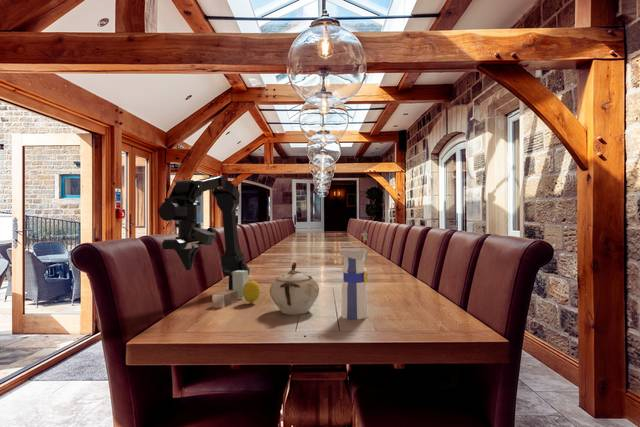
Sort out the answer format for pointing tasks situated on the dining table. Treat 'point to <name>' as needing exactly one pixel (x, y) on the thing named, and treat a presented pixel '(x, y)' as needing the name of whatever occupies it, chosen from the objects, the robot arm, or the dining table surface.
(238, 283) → the sage block
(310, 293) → the sugar bowl
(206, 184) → the robot arm
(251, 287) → the lemon
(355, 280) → the white blue cross vase
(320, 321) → the dining table surface
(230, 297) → the beige rectangular block
